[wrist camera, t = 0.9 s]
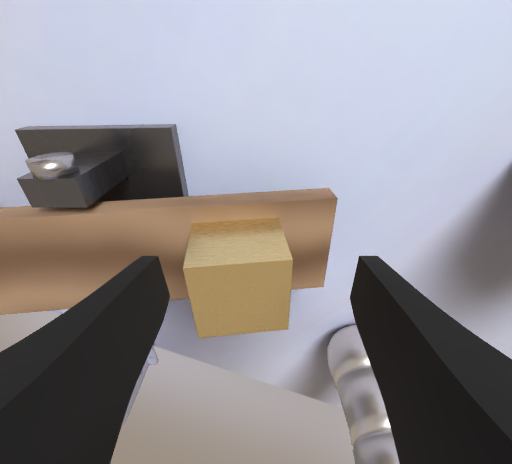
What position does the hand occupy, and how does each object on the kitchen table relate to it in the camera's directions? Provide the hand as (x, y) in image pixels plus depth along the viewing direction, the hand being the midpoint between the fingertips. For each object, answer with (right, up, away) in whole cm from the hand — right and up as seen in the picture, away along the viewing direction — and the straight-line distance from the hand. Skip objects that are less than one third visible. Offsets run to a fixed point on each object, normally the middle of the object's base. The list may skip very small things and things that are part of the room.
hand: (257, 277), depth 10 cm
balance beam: (-11, +2, +10) cm, 15 cm away
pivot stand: (-10, +3, +11) cm, 15 cm away
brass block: (-1, 0, +7) cm, 7 cm away
